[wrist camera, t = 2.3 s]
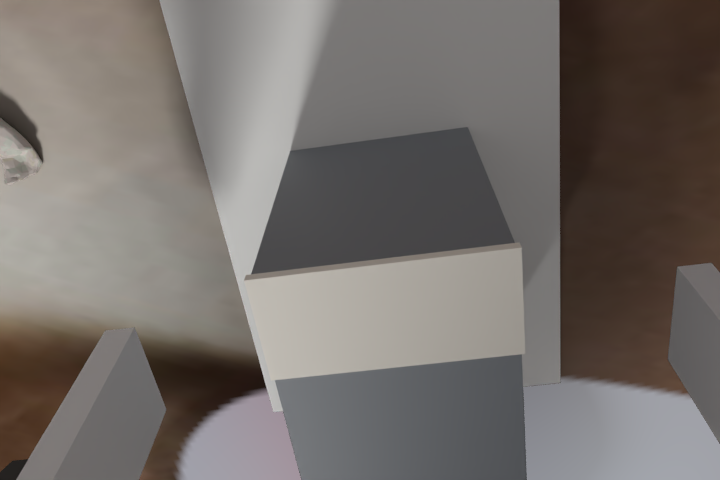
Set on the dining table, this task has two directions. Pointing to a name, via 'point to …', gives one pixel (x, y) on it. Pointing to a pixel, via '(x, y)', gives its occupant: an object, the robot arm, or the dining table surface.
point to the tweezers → (16, 155)
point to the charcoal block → (394, 312)
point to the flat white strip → (380, 113)
